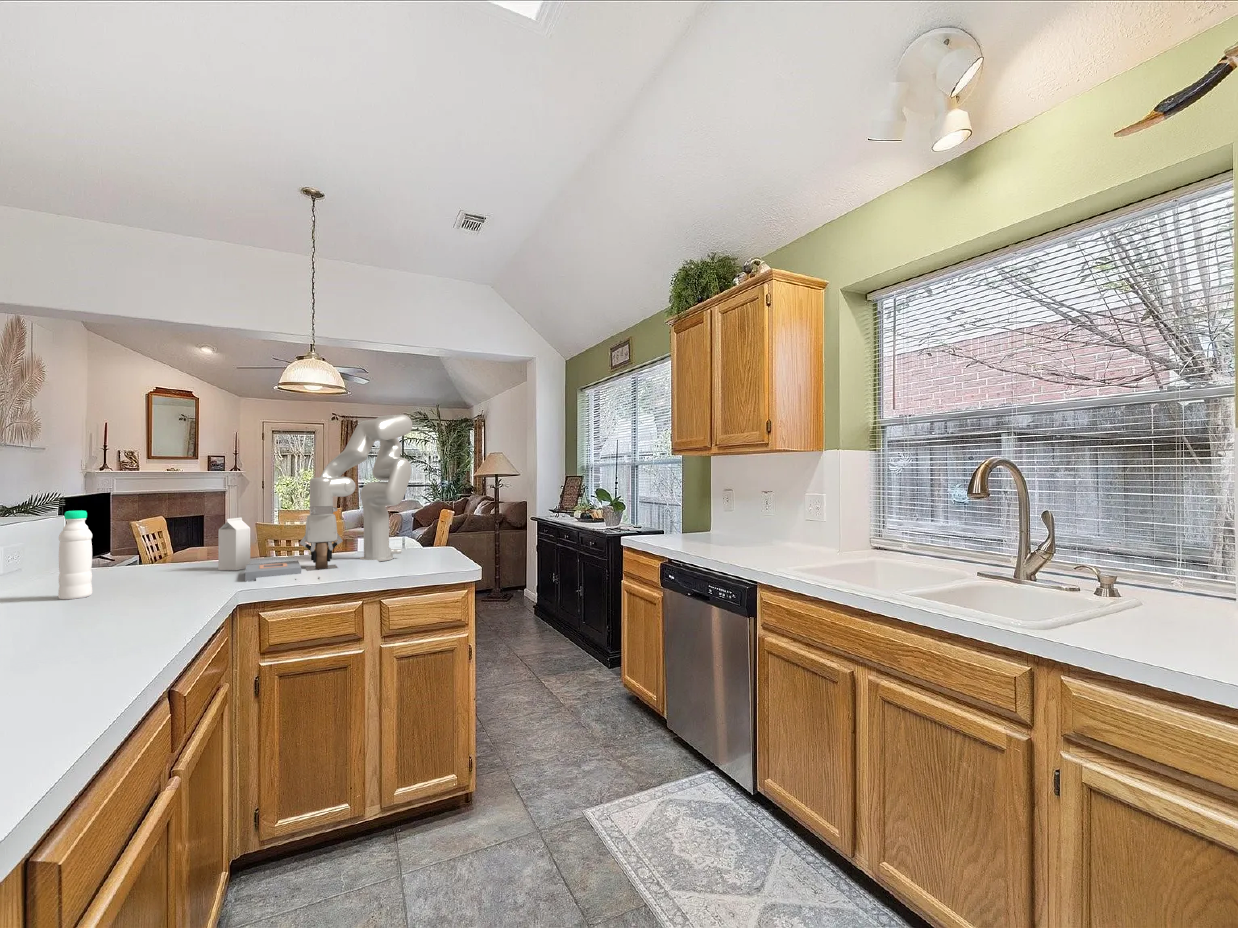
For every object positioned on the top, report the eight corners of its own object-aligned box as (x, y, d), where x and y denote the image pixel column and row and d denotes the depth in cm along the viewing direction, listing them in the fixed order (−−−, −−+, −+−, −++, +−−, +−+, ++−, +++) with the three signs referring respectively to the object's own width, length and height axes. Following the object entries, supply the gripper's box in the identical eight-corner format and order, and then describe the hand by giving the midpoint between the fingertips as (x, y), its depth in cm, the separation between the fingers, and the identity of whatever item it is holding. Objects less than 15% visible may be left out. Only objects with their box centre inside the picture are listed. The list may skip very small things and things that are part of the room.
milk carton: (250, 567, 215) (250, 517, 215) (236, 570, 208) (236, 518, 208) (233, 567, 216) (233, 517, 216) (218, 570, 209) (218, 518, 209)
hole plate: (298, 568, 212) (298, 559, 212) (301, 576, 195) (301, 566, 195) (246, 572, 203) (246, 563, 203) (245, 581, 186) (245, 571, 186)
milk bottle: (97, 595, 166) (98, 510, 167) (68, 600, 160) (68, 511, 160) (82, 594, 169) (82, 509, 169) (52, 599, 162) (52, 511, 162)
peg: (327, 566, 210) (327, 541, 210) (328, 567, 206) (328, 542, 206) (314, 567, 207) (314, 542, 208) (315, 568, 204) (315, 543, 204)
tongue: (335, 567, 214) (335, 564, 214) (338, 570, 205) (338, 567, 205) (305, 569, 208) (305, 567, 208) (306, 573, 200) (306, 570, 200)
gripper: (345, 509, 215) (345, 558, 214) (294, 511, 206) (294, 562, 206) (348, 510, 208) (348, 560, 208) (295, 512, 200) (295, 565, 199)
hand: (321, 561), depth 207 cm, fingers closed on peg, 4 cm apart
